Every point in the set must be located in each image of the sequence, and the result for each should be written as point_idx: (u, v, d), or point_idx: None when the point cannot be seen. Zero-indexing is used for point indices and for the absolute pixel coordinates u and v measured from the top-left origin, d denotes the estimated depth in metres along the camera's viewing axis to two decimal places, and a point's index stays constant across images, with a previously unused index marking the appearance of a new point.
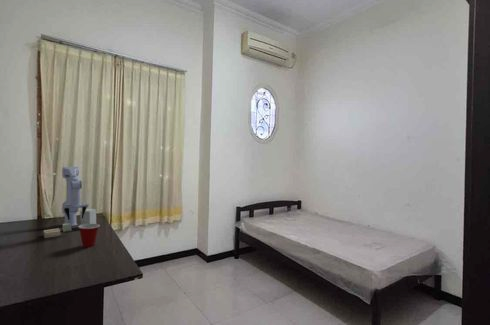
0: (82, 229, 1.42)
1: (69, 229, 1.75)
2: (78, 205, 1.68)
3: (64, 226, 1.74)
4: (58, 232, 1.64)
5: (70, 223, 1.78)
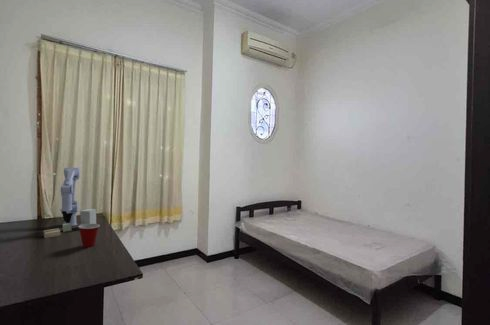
0: (82, 229, 1.42)
1: (69, 229, 1.75)
2: (63, 209, 1.73)
3: (64, 227, 1.74)
4: (58, 232, 1.64)
5: (70, 223, 1.78)
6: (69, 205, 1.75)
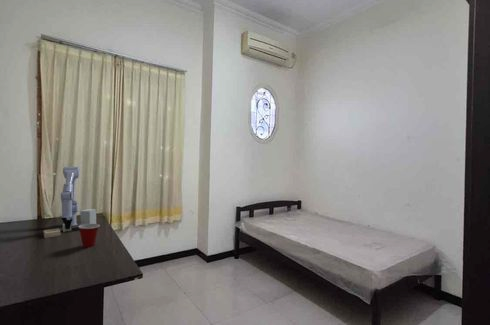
0: (82, 229, 1.42)
1: (69, 229, 1.75)
2: (63, 216, 1.73)
3: (64, 226, 1.74)
4: (58, 232, 1.64)
5: None
6: (69, 211, 1.75)
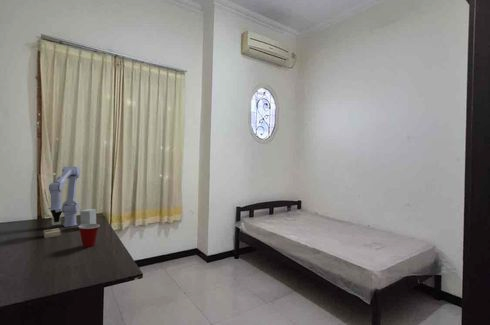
0: (82, 229, 1.42)
1: (58, 222, 1.67)
2: (51, 208, 1.65)
3: (53, 220, 1.65)
4: (58, 232, 1.64)
5: None
6: (58, 203, 1.67)
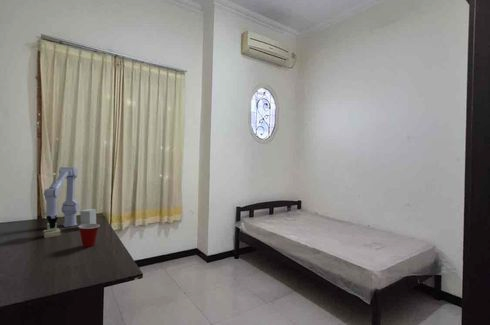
0: (82, 229, 1.42)
1: (54, 229, 1.64)
2: (47, 214, 1.62)
3: (49, 226, 1.62)
4: (58, 232, 1.64)
5: None
6: (54, 209, 1.64)
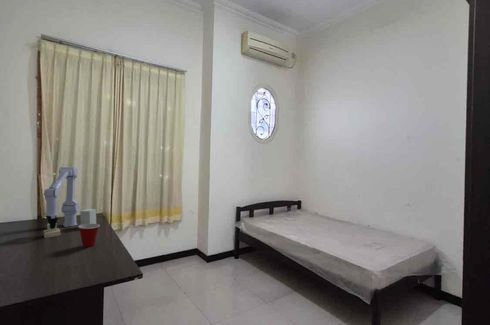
0: (82, 229, 1.42)
1: (54, 229, 1.64)
2: (47, 214, 1.62)
3: (49, 226, 1.62)
4: (58, 232, 1.64)
5: None
6: (54, 209, 1.64)
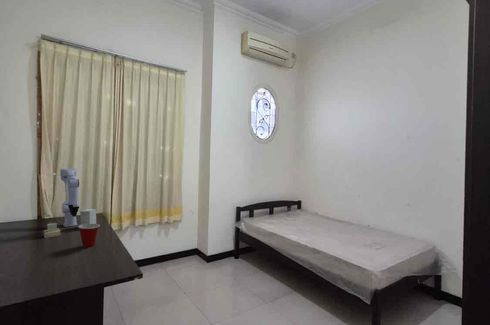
0: (82, 229, 1.42)
1: (54, 229, 1.64)
2: (69, 203, 1.76)
3: (49, 226, 1.62)
4: (58, 232, 1.64)
5: (55, 223, 1.67)
6: (76, 199, 1.77)
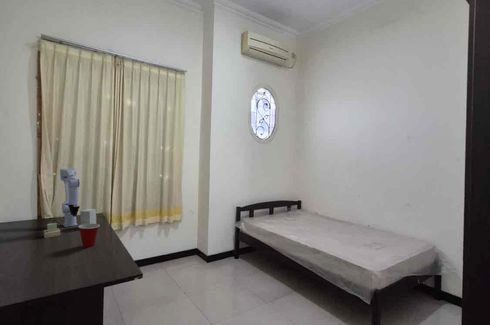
0: (82, 229, 1.42)
1: (54, 229, 1.64)
2: (70, 203, 1.76)
3: (49, 226, 1.62)
4: (58, 232, 1.64)
5: (55, 223, 1.67)
6: (76, 199, 1.77)
